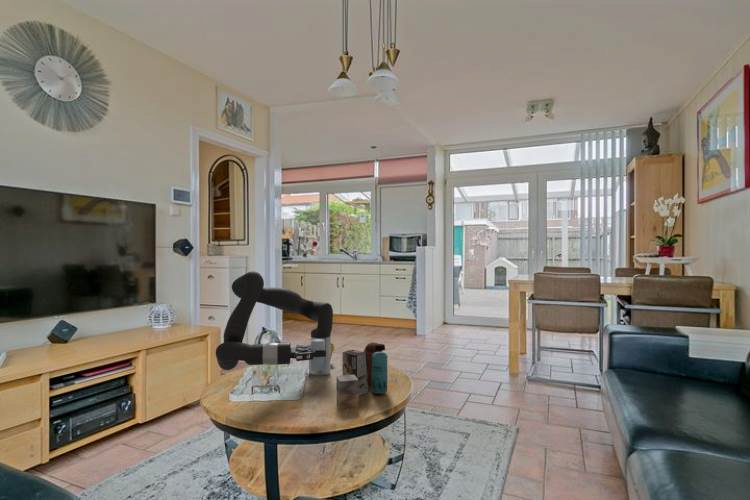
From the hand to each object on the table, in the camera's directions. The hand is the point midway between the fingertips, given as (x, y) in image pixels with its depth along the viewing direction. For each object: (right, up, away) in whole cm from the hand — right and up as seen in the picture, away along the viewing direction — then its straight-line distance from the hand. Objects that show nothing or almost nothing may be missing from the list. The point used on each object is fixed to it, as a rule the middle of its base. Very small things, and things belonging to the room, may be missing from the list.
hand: (325, 351), depth 149 cm
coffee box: (+10, -21, +20) cm, 31 cm away
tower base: (+8, -21, +6) cm, 23 cm away
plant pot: (-8, -22, +63) cm, 67 cm away
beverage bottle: (+20, -21, +17) cm, 34 cm away
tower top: (+8, -16, +6) cm, 19 cm away
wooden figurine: (+17, -22, +29) cm, 40 cm away
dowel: (-3, -6, -1) cm, 7 cm away
